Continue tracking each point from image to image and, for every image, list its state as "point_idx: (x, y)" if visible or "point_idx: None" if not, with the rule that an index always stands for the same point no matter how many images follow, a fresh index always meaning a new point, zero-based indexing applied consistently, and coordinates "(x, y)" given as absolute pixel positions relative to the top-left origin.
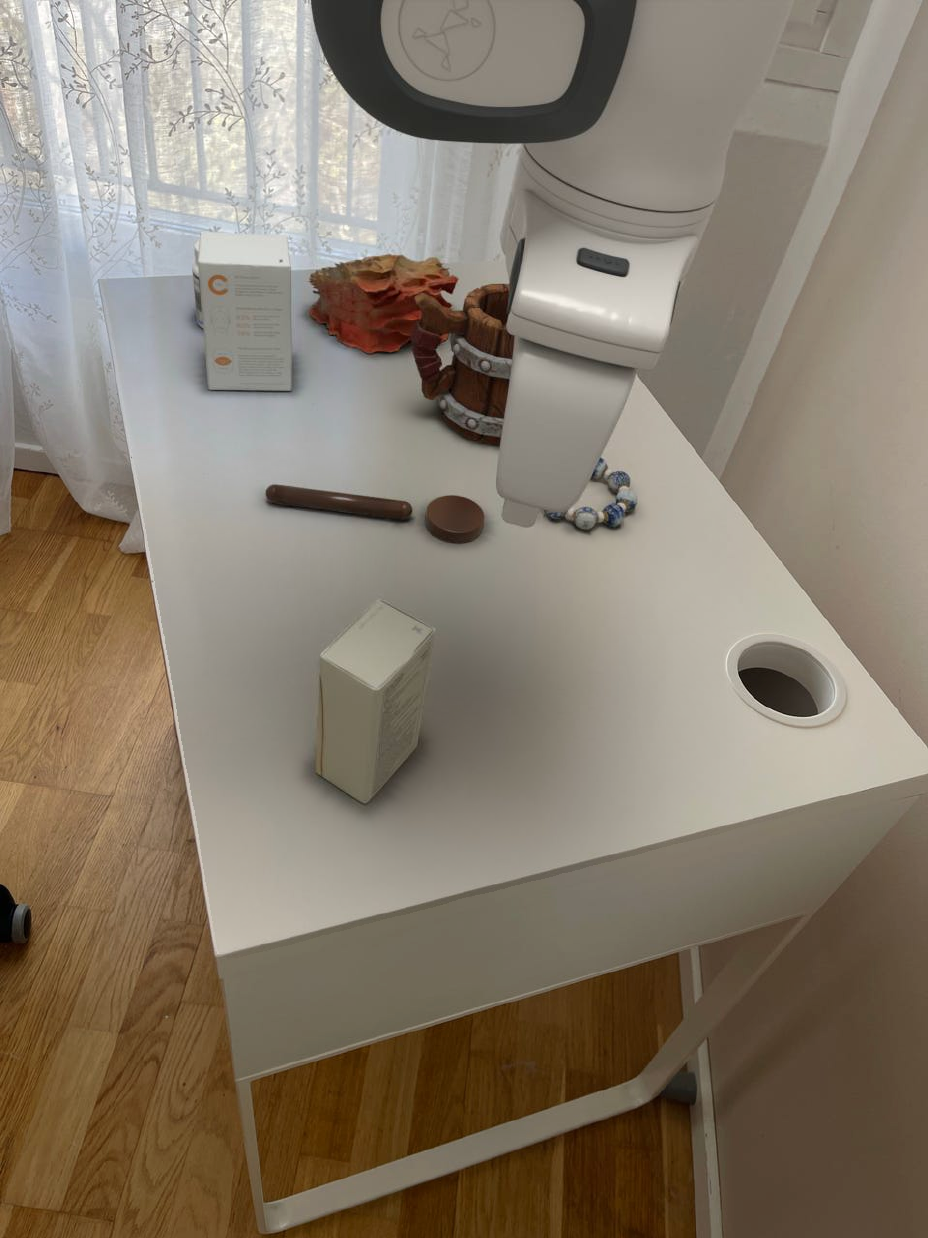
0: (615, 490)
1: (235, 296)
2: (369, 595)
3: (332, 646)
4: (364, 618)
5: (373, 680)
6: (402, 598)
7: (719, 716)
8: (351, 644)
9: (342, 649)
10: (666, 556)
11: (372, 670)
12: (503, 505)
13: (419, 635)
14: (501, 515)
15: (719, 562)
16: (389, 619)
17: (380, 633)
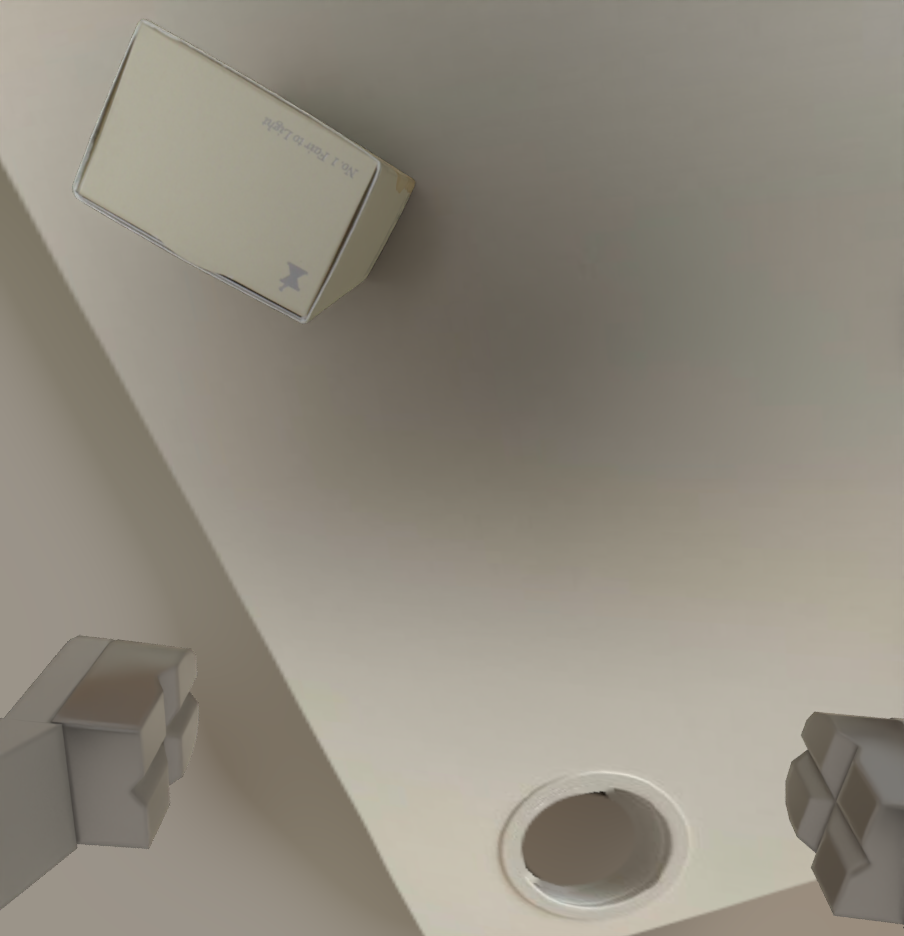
0: None
1: None
2: (744, 144)
3: (183, 50)
4: (302, 129)
5: (98, 179)
6: (739, 218)
7: (505, 751)
8: (199, 104)
9: (178, 81)
10: (874, 711)
11: (130, 173)
12: (124, 649)
13: (275, 284)
14: (71, 639)
15: None
16: (313, 199)
17: (257, 180)
